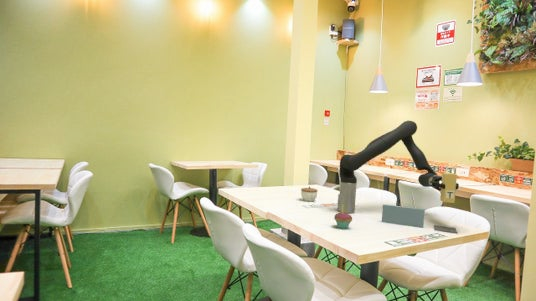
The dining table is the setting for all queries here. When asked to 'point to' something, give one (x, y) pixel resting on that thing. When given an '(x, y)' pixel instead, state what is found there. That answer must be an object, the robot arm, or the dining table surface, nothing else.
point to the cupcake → (343, 219)
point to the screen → (403, 215)
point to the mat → (445, 229)
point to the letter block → (448, 187)
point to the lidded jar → (309, 194)
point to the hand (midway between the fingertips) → (450, 187)
